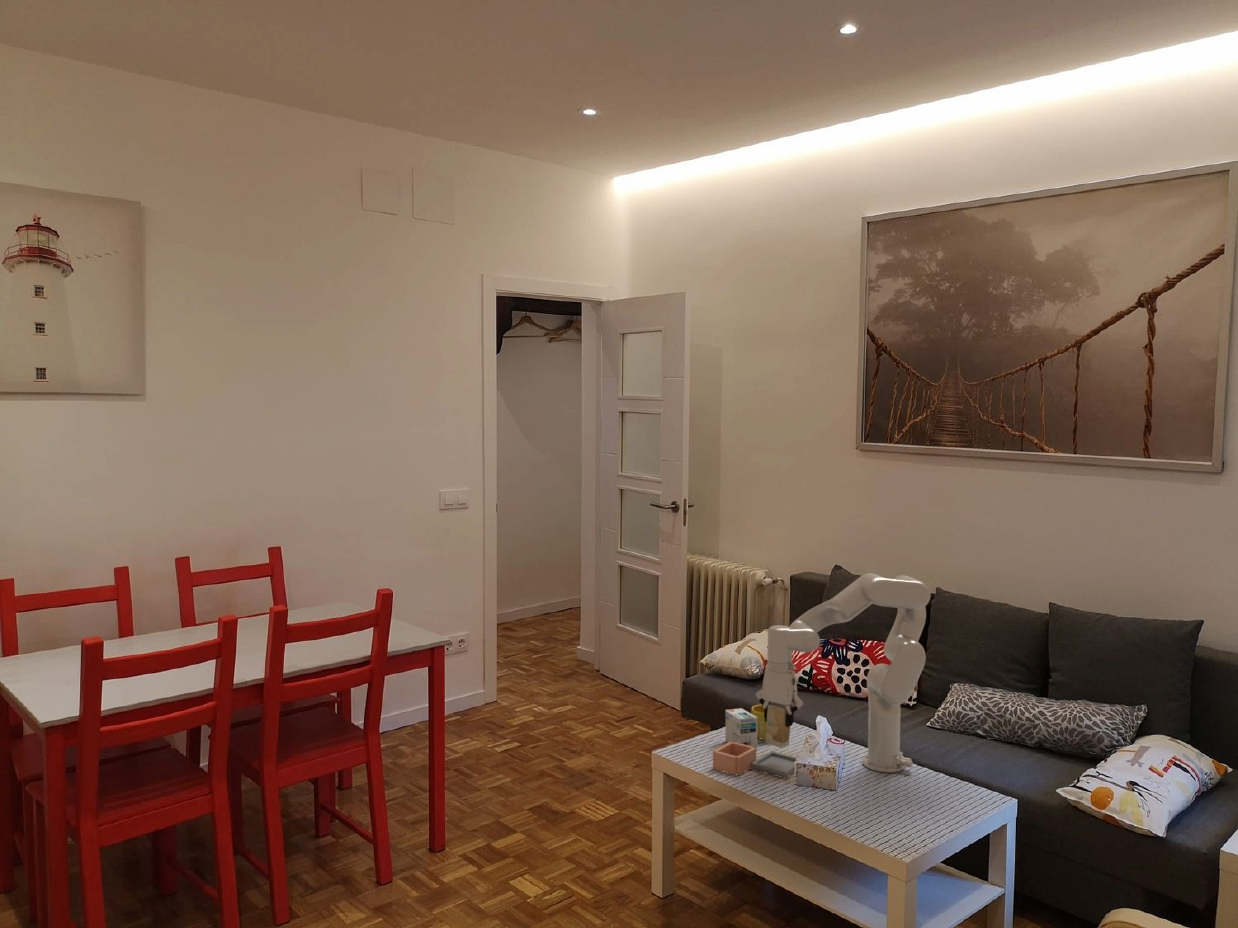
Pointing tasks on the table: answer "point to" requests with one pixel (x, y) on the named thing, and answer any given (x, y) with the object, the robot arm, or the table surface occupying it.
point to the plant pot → (760, 720)
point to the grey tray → (775, 764)
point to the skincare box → (777, 725)
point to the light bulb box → (741, 727)
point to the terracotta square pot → (734, 758)
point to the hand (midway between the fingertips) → (778, 722)
